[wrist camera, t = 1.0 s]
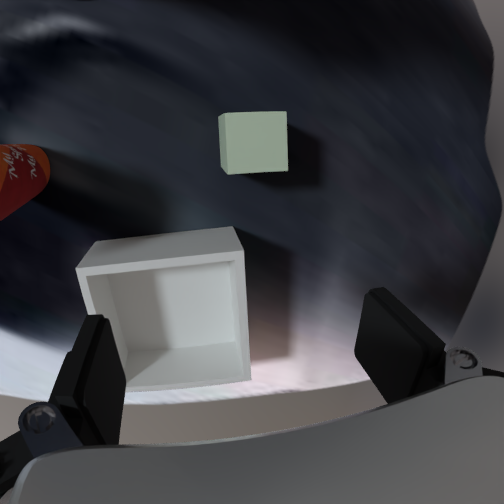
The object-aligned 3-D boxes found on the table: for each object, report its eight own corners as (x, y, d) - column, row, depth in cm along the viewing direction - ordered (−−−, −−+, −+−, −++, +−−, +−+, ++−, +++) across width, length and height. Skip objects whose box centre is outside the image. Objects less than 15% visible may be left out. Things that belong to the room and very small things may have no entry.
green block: (218, 116, 29) (224, 113, 24) (269, 114, 30) (286, 111, 25) (221, 166, 31) (227, 174, 26) (270, 163, 32) (288, 170, 26)
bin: (95, 241, 31) (75, 268, 25) (232, 226, 33) (243, 250, 27) (124, 353, 37) (116, 392, 30) (240, 341, 39) (251, 380, 32)
